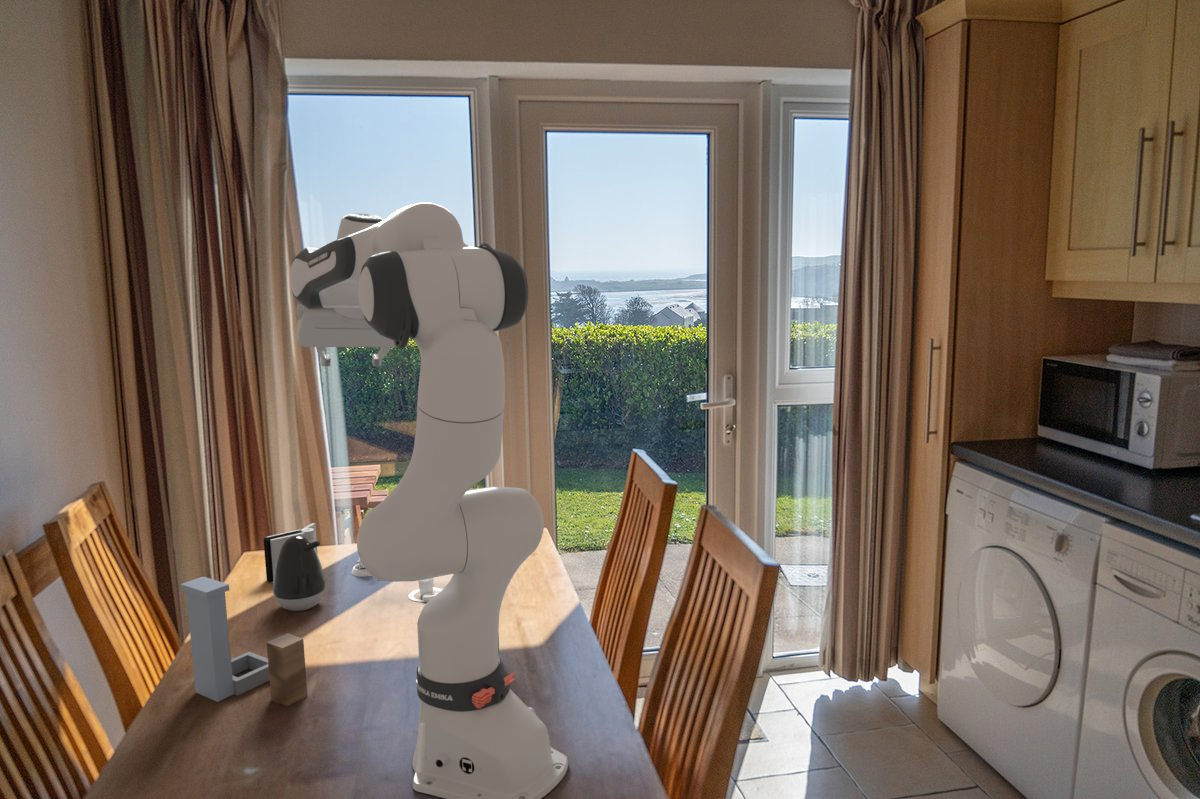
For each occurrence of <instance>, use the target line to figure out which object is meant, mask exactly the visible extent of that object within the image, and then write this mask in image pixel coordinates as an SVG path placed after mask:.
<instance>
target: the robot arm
mask: <svg viewBox="0 0 1200 799" xmlns="http://www.w3.org/2000/svg"><path fill="white" fill-rule="evenodd" d="M460 225H461V224H460V223H459V221H458V219H457V218H456V217H455V215H454V214H453V213H452V212H451V211H450V210H448V209H447V208H445V207H444V206H441V205H440V204H436V203H432V202H419V203H418V202H417V203H414V204H410V205H407V206H404V207H402V208H400V209H397V210H396V211H395V212H393V213H391V214H390V215H389V216H388V217H387V218H382V217H381V216H378V215H375V214H374V215H373V214H368V213H348V214H346V215H344V216H342V217H341V220H340V223H339V227H338V230H337V231H338V232H337V237H336V240H333V241H331V242H329V243H326V244H325V245H324V246H321V247H319V248H316V247H305V248H303V249H302V250H301V251H299V253H297V254H296V255H295V256H294V258H293V260H292V261H291V262H292V263H291V267H290V270H289V284H290V289H291V293H292V295H293V297H294V298H295V300H296V301H297V302H298V303H297V305H296V307H295V316H296V318H297V323H296V332H295V338H296V341H297V343H298V344H299V345H300V346H301V347H302V348H315V349H316V351H317V353H318V355H319V357H320V364H321V367H331V360H332V359H331V356H330V354H329V353H328V354H326V353H325V351H326V348H380V349H379V350H378V351H377V353H373V354H372V359H371V364H372V366H373V367H381V366H382V365H383V364H382V362H383V359H384V358H385V356H386V355H387V354H389V352H390V348H398V349H401V350H403V349H405V348H406V347H407V346H408V344H409V343H410V339H411V340H413V341H414V342H415V344H416V345H417V348H418V351H419V355H420V368H419V369H420V371H419V379H418V389H417V402H416V406H417V407H416V421H415V422H416V424H415V433H414V434H415V435H414V443H413V451H412V455H411V458H410V462H409V464H408V465H407V468H406V470H405V472H404V474H403V476H402V477H401V479H400V481H399V482H398V484H397V485H396V486H395V487H394V489H393V490H392V491H391V492H390V493H389V494H388V495H387V496H386V497H385V498H384V499H383V500H381V502H380V503H378V504H377V505H375V506H374V507H373V508H371V509H370V510H369V511H368V512H367V514H365V515H364V518H363V519H362V520H361V523H360V525H359V528H358V532H357V537H356V550H357V555H358V558H359V557H360V560H361V562H362V564H363V566H364V567H365V568H364V570H367V571H368V572H369V573H370V574H371V576H372V577H373V578H374V579H375V580H377V581H379V582H416V581H418V580H423V579H429V578H433V579H434V578H439V577H444V576H448V575H452V576H451V578H450V580H449V581H448V583H447V584H446V586H445V587H444V588H442V589H443V590H442V591H441V592H439V591H438V592H437V593H438V594H437V595H435V596H434V597H433V598H432V599H430V600H429V601H428V602H425V604H424V606H423V608H422V609H421V612H420V614H419V616H418V618H417V622H416V626H417V646H418V666H417V667H416V679H415V685H416V691H417V697H418V698H419V714H418V725H417V726H418V727H417V737H416V738H417V739H416V746H415V750H414V754H413V757H412V761H411V762H412V768H413V771H414V775H413V779H412V780H413V781H412V788H413V790H415V791H416V792H418V793H421V794H422V793H423V794H426V795H431V796H435V797H438V798H441V799H542V798H543V797H545V796H546V795H547V794H549V793H550V792H551V791H552V790H553V789H554V788H555V787H557V786H558V784H560V782H561V781H562V780H563V779H564V777H565V775H566V774H567V770H568V767H569V761H568V760H569V759H568V756H567V755H565V754H564V753H562V752H560V751H558V750H557V749H555V748H554V747H552V746H551V741H550V735H549V732H548V729H547V725H546V724H545V723H544V722H543V721H542V720H541V719H540V718H539V717H538V716H537V713H536V710H535V709H534V708H532V707H531V706H530V707H529V706H528V705H526V704H525V703H524V702H523V701H522V700H521V698H520V697H518V695H516V694H515V692H514V691H513V690H512V689H511V685H510V684H512V682H514V681H515V680H516V678H515V677H514V676H515V675H516V672H515V671H514V672H511V673H510V674H508V675H507V673H506V670H505V667H504V665H503V662H502V660H501V658H500V651H499V652H498V633H499V634H500V632H499V629H500V628H499V626H500V613H501V607H502V604H503V599H504V597H505V594H506V592H507V589H508V586H509V585H510V582H511V580H512V579H513V577H514V575H515V574H516V572H517V571H518V569H519V568H520V567H521V565H522V564H523V563H524V562H525V561H526V560H527V559H528V558H529V557H530V556H531V555H532V554H533V553H535V551H536V550H537V549H538V547H539V544H540V543H541V540H542V538H543V533H544V528H545V527H544V526H545V525H544V522H545V521H544V515H543V511H542V508H541V506H540V504H539V503H538V501H537V500H536V498H535V497H534V496H533V495H532V494H531V493H530V492H529V491H528V490H527V489H526V488H521V487H511V486H487V487H480V488H474V489H471V488H472V487H474V486H475V485H476V484H479V482H481V481H483V480H484V479H485V478H487V477H488V476H489V475H490V474H491V473H492V472H493V470H494V469H495V468H496V466H497V465H498V463H499V459H500V457H501V455H502V454H501V452H502V444H503V443H502V440H503V439H502V438H503V430H504V429H503V428H504V427H503V426H504V415H505V405H506V404H505V403H506V401H505V400H506V377H505V376H506V374H505V373H506V372H505V361H504V353H503V351H504V350H503V346H502V345H503V344H502V342H501V339H500V337H499V335H498V334H497V331H501V330H506V329H509V328H511V327H513V326H516V325H518V324H519V323H520V322H521V320H522V319H523V316H524V315H525V313H526V310H527V307H528V302H529V286H528V285H529V284H528V279H527V274H526V272H525V269H524V267H523V265H521V264H520V263H519V261H517V259H515V257H514V256H512V255H511V254H508V253H506V252H502V251H501V250H498V249H497V250H496V249H495V248H493V247H492V246H491V245H490V244H489V243H486V242H485V241H484V242H481V244H480V246H470V245H468V244H466V243H465V242H464V238H463V232H462V229H461V226H460ZM513 677H514V678H513Z"/></svg>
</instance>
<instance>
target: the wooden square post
mask: <svg viewBox="0 0 1200 799" xmlns="http://www.w3.org/2000/svg"><path fill="white" fill-rule="evenodd" d="M266 652H267V653H266V654H267V658H268V666H269V679H270V680H269V688H270V690H269V691H270V699H271V700H270V701H272V702H274V703H277V704H279V705H281V706H285V707H289V706H292V705H294V704H295V703H297V702H299V701H301V700H303V699H304V698H306V697H308V685H307V684H308V683H307V671H306V670H307V669H306V661H305V660H306V655H305V645H304V638H302V637H300V636H296V635H293V634H290V633H288V632H287V633H284V634H283V635H281V636H279V637H276V638H274V639H271V640H270V641H267V642H266Z"/></svg>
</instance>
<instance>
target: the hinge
mask: <svg viewBox="0 0 1200 799" xmlns="http://www.w3.org/2000/svg"><path fill="white" fill-rule="evenodd" d="M295 535H300V536H304V537H305V538H307V539H308V540H309V541H310V543H311V542H315V541H318V539H317V525H316V523H315V522H312V523H310V524H308V525H306V526H305V527H303V528H299V529H296V530H291V531H290V530H289V531H286V532H281V533H277V534H273V535H268V536H266V537H263V549H264V551H263V552H264V561H265V562H264V563H265V573H266V574H265V575H266V581H267V582H268V583H269V584H273V583H272V582H273V581H274V571H275V566H276V562H277V558H278V555H279V552H280V549H281V547H282V545H283V543H284V542H285V541H286V540H287V539H288V538H289V537H291V536H295ZM314 549H315V551H316V553H317V555H318V556H319V554H318V546H317V547H315V548H314Z"/></svg>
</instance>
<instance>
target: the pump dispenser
mask: <svg viewBox="0 0 1200 799" xmlns="http://www.w3.org/2000/svg"><path fill="white" fill-rule="evenodd" d="M319 546H321V541H320V540H317V541H315V542H311V543H310V541H309V540H308V539H307V538H305V537H304V536H300V535H295V536H291V537H289V538H288V539H287V540H286V541H285V542H284V543H283V545H282V547H281V549H280V552H279V555H278V558H277V562H276V566H275V571H274V581H273V583H272V591H273V596H274V597H275V598H276V601H277V602H278V604H279V605H280V607H282V608H283V609H285V610H287V611H291V612H302V611H307V610H310V609H311V608H314V607H315V606H316V605H317V604H318V603H319V602H320V601H321V600H322V598H323V595H324V590H325V589H326V578H325V574H324V570H323V566H322V562H321V560H320V557H319V554H318V555H317V553H316V551H315V549H314V548H315V547H317V548H318V547H319Z"/></svg>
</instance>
